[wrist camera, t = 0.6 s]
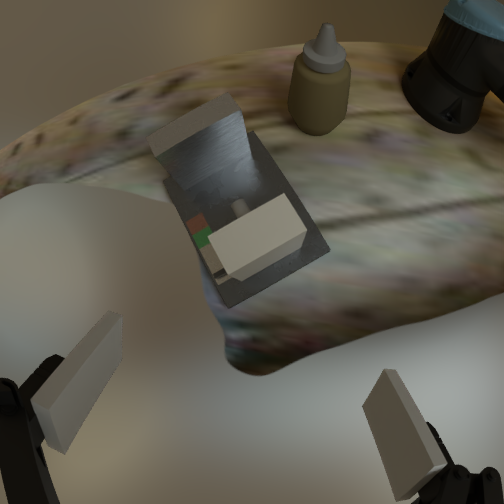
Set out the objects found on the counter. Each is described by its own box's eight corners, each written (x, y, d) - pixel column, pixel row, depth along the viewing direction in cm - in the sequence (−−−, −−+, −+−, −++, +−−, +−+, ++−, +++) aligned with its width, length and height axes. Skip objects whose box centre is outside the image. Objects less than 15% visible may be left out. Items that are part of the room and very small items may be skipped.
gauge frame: (254, 136, 40) (244, 84, 29) (328, 251, 36) (348, 230, 25) (166, 185, 40) (130, 147, 29) (230, 308, 36) (207, 311, 25)
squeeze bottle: (350, 138, 39) (382, 48, 21) (296, 148, 39) (302, 54, 21) (331, 95, 40) (347, 5, 22) (280, 104, 40) (276, 10, 23)
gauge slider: (271, 198, 36) (267, 167, 27) (300, 247, 35) (307, 229, 26) (196, 241, 36) (170, 222, 28) (223, 291, 35) (203, 288, 26)
